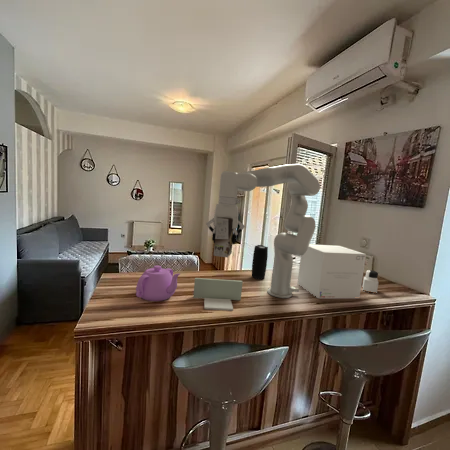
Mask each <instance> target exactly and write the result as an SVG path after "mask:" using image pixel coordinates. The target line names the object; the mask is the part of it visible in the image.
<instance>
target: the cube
mask: <svg viewBox="0 0 450 450" xmlns="http://www.w3.org/2000/svg"><path fill="white" fill-rule="evenodd" d="M366 258H367V253H365V252H364V253H363V252H360V251H358V250H355V249H351V248H349V247H345V246H342V245H335V244H334V245H331V244H330V245H329V244H311V243H310V244H309V247H308V249H307V251H306V253H305V254H304V255H302V256H300V258H299V259H300V261H299V267H298V277H297V283H296V284H297V285H298V284H299V285H300V286H299V285H298V286H299V287H301V286H302V287H303V288H302V287H301V288H302V289H304V290H305V289H306V290H305V291H307V292H308V291H309V292H310V293H309V292H308V293H309V294H311V295H312V294H313V295H312V296H313V297H315V296H316V297H315V298H317V299H356V298H355V297H360V298H361V291H362V290H361V289H362V286H363V279H364V272H365V265H366Z"/></svg>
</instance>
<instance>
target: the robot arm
mask: <svg viewBox="0 0 450 450" xmlns="http://www.w3.org/2000/svg"><path fill="white" fill-rule="evenodd" d="M286 183H287V190H288V193H289V196H290V206H289V209H288V213H287V214H286V217H285V220H284V224H283V226H284V229H285V230H286V231H288V232H279V233H278V234H276V235H275V236H274V239H273V249H274V250H273V251H274V252H273V253H274V257H273V265H272V273H271V274H272V275H271V283H270V287H269V288H267V290H266V291H267V293H268V295H270V296H272V297H276V298H281V299H289V298H292V297H293V292H295V293H299V292H300V289H299V288H300V287H295V286H291V281H292V273H293V265H294V259H293V256H296V257H301V256H302V255H304V254H305V253H306V251H307V249H308V247H309V244H311V241H312V239H313V236H314V233H315V232H316V231H315V230H316V221H315V218H314V217H313V216H311V215H308V214H307V211H308V208H309V203H308V200H307V197H306V196H308V197H313V196H314V197H315V196H316V195H317V194H319V192H320V189H321V184H320V181H319V179H318V178H317V177H316V176H315V175H314V173H312V172H311V171H310V170H309V169H308V168H307V167H306V166H305V165H303V164H301V163H292V164H291V163H290V164H283V165H281V164H280V165H277V166H271V167H270V166H269V167H265V168H259V169H255V170H254V169H253V170H248V171H242V172H237V171H236V172H235V171H228V170H226V171H222V172H221V173H220V181H219V194H218V196H219V197H218V203H216V204H215V210H214V215H213V218H212V219H210V220H208V221H207V222H206V223H205V224H206V226H207V228H208V229H209V230H210V232H211V233H212V235H211V236H212V237H211V241H212V242H213V243H214V244H215V235H216V223H217V218H218V217H219V218H233V226H232V229H233V231H234V233H233V240H232V243H233V244H232V245H235V243H237V239H238V235H239V234H240V233H241V232H242V231H243V230H244V229H245V227H246V226H245V224H243V223H242V222H241V221H240V219H239V207H238V204H240V203H241V200H240V199H238V192H251V191H254V190H255V189H256V187H257V188H258V187H259V188H266V187H273V186H277V185H281V184H283V185H284V184H286ZM212 223H213V227H212V226H211V224H212ZM238 225H239V226H240V227H239V228H238ZM290 232H291V233H290ZM292 233H293V234H292ZM294 233H295V234H294Z"/></svg>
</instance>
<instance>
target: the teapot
mask: <svg viewBox="0 0 450 450" xmlns="http://www.w3.org/2000/svg"><path fill="white" fill-rule="evenodd" d="M180 275H181V273H174V270H173V269H172V268H169V267H167V268H162V266H161V265H158V264H157V265H154V266H153V267H151V268H150V267H149V268H147V269H146V270H145V271H144V272H143V273H142V274H141V276H140V277H139V279H138V280H137V284H136V287H135V292H136V293H135V296H136V297H137V298H141V299H142V300H145V301H148V302H149V301H150V302H161V301H164V300H167V299H170V298H171V297H173V295H174V294H175V293H176V291H177V288H178V277H179V276H180Z"/></svg>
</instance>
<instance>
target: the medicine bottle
mask: <svg viewBox="0 0 450 450" xmlns="http://www.w3.org/2000/svg"><path fill="white" fill-rule="evenodd" d="M378 276H379V272H377V271H376V270H373V269H372V270H370V269H368V270H366V272H365V276H363V279H362V285H361V288H362V287H363V289H362V291H363V290H366V291H371V292H376V293H377V294H378V289H379V279H378V278H379V277H378Z"/></svg>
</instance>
